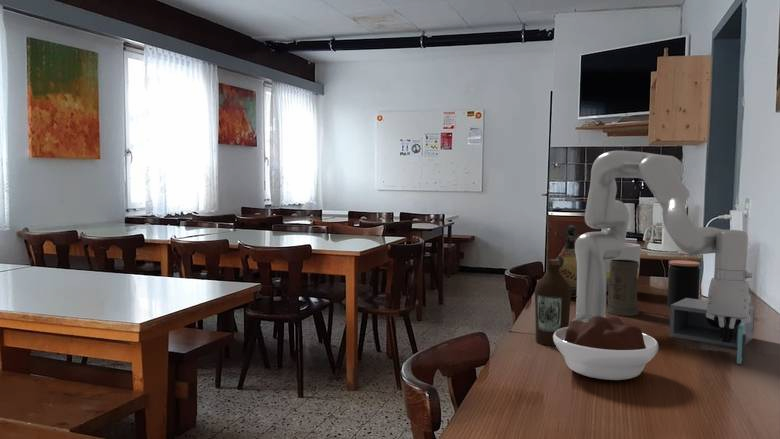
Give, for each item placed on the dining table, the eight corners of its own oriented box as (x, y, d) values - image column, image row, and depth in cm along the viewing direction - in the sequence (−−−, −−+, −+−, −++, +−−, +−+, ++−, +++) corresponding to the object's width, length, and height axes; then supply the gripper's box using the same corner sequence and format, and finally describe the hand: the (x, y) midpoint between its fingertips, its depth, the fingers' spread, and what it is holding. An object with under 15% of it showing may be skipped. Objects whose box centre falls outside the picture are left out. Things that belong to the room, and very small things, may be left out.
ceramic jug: (588, 300, 247) (590, 227, 245) (549, 298, 250) (551, 226, 248) (583, 292, 264) (585, 224, 262) (547, 291, 267) (549, 223, 265)
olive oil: (538, 335, 190) (540, 256, 189) (573, 340, 185) (575, 259, 183) (529, 343, 181) (531, 260, 179) (565, 348, 176) (567, 263, 174)
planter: (591, 295, 258) (593, 245, 257) (590, 287, 277) (592, 241, 275) (641, 298, 253) (642, 247, 251) (636, 290, 271) (638, 242, 270)
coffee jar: (691, 306, 238) (693, 260, 237) (702, 311, 227) (704, 264, 226) (663, 305, 239) (665, 259, 238) (673, 311, 228) (675, 263, 227)
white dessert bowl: (575, 354, 170) (576, 301, 169) (669, 372, 155) (671, 314, 154) (535, 375, 151) (536, 316, 150) (638, 399, 135) (641, 333, 134)
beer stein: (632, 317, 216) (636, 261, 216) (602, 313, 222) (605, 259, 222) (644, 313, 228) (647, 260, 228) (615, 309, 235) (618, 258, 234)
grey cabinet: (740, 348, 177) (742, 314, 177) (669, 336, 191) (670, 304, 190) (753, 338, 189) (754, 306, 189) (684, 327, 203) (686, 297, 202)
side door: (747, 348, 176) (749, 316, 176) (744, 364, 160) (746, 330, 160) (740, 347, 177) (741, 316, 177) (736, 363, 161) (737, 329, 161)
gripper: (763, 276, 163) (759, 343, 164) (702, 270, 172) (699, 334, 173) (760, 280, 157) (756, 349, 158) (696, 274, 166) (693, 339, 167)
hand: (726, 341), depth 166 cm, fingers closed
